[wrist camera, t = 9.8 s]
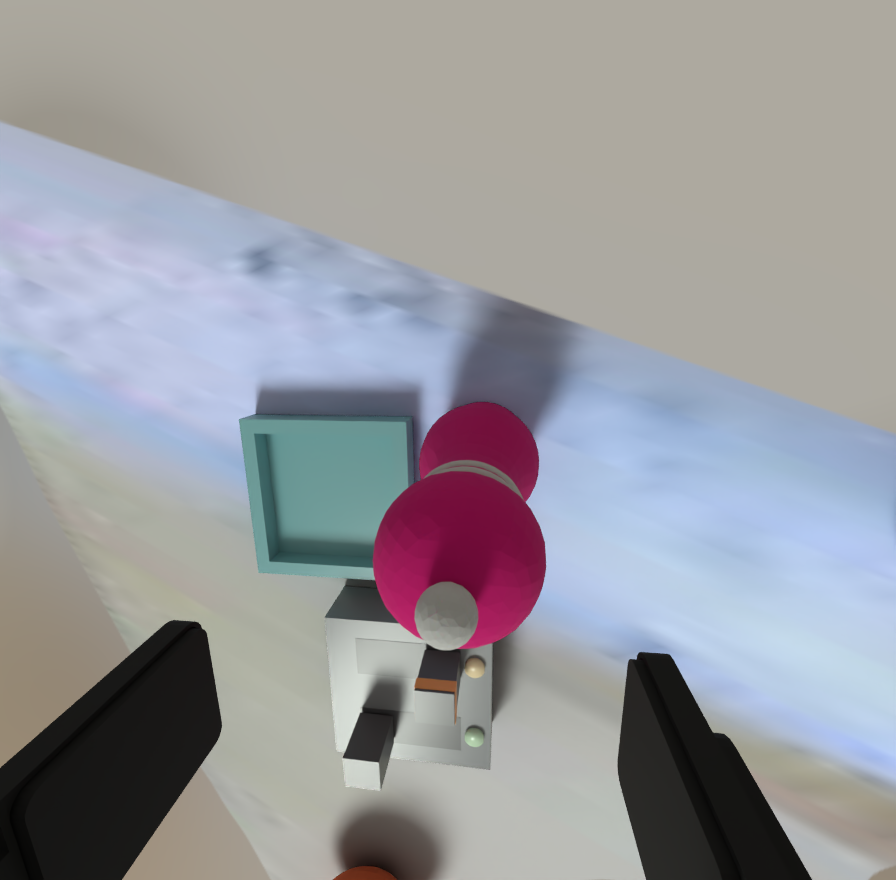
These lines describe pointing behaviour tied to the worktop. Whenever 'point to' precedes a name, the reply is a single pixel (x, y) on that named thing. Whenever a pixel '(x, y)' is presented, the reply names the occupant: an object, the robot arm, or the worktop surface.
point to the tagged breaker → (437, 688)
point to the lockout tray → (323, 488)
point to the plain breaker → (368, 751)
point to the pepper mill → (465, 533)
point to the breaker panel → (402, 684)
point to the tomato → (365, 874)
